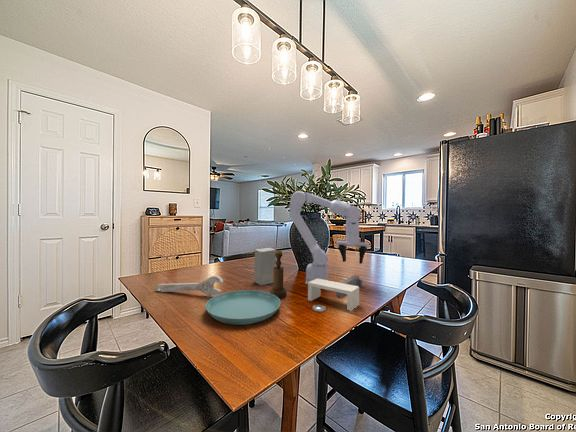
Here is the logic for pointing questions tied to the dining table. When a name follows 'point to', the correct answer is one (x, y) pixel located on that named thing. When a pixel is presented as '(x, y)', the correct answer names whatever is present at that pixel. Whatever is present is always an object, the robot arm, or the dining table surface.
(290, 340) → the dining table surface
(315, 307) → the steel disc
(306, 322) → the dining table surface
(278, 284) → the pepper mill
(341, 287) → the low bench
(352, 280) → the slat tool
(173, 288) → the wrench
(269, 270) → the skincare box
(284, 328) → the dining table surface
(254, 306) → the saucer
